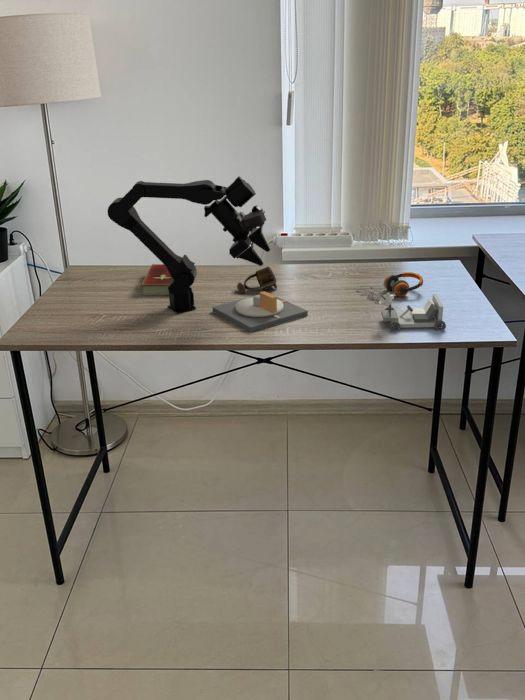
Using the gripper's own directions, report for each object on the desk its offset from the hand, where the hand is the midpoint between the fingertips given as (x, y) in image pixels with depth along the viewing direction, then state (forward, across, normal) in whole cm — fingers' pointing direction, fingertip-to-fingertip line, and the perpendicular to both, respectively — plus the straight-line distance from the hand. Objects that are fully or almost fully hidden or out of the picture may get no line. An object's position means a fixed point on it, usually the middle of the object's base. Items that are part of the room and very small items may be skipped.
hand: (265, 257), depth 213 cm
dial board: (+11, -7, +10) cm, 16 cm away
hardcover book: (-10, +13, +41) cm, 44 cm away
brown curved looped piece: (+10, +13, +17) cm, 23 cm away
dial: (+9, -7, +9) cm, 15 cm away
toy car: (+38, -7, -23) cm, 45 cm away
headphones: (+37, +15, -16) cm, 43 cm away
